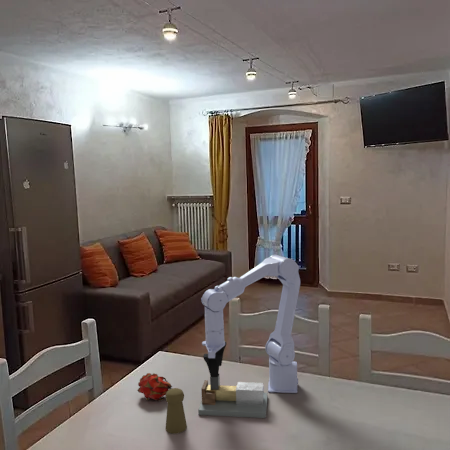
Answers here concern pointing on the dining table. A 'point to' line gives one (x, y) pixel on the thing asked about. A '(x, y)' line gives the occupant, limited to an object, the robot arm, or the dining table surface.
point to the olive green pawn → (175, 411)
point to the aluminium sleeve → (249, 394)
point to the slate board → (234, 409)
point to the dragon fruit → (153, 386)
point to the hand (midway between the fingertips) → (216, 371)
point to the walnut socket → (207, 395)
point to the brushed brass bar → (221, 390)
